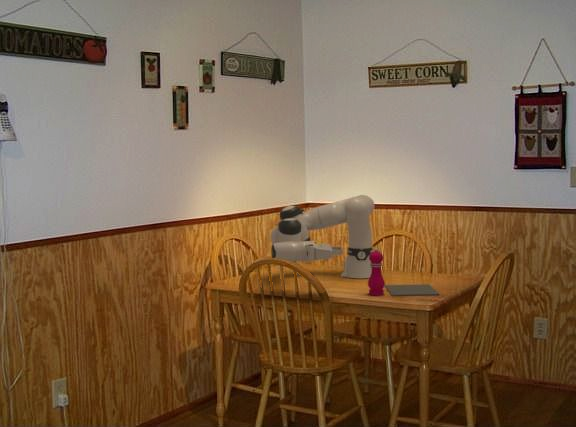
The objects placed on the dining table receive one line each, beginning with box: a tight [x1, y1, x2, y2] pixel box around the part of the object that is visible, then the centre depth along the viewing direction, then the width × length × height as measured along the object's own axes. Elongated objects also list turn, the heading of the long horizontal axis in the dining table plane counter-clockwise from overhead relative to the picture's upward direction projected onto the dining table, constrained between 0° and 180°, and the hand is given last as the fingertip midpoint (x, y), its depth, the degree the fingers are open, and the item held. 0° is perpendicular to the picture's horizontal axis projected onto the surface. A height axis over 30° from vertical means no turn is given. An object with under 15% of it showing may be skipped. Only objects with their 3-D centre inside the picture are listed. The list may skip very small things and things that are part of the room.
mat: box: [384, 283, 440, 297], centre depth 343 cm, size 22×20×1 cm
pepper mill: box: [367, 247, 386, 296], centre depth 336 cm, size 7×7×20 cm
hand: (342, 250), depth 334 cm, fingers open, 8 cm apart
